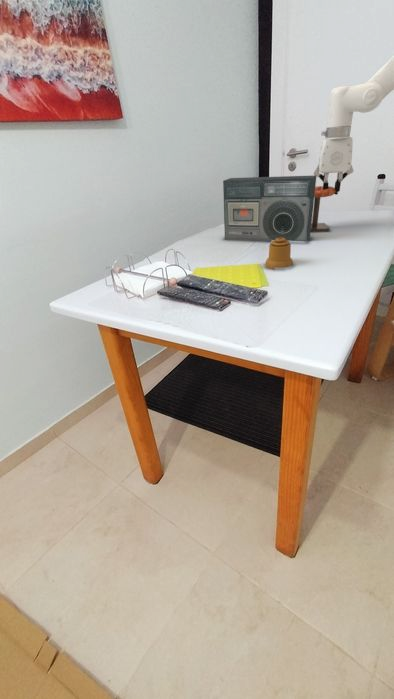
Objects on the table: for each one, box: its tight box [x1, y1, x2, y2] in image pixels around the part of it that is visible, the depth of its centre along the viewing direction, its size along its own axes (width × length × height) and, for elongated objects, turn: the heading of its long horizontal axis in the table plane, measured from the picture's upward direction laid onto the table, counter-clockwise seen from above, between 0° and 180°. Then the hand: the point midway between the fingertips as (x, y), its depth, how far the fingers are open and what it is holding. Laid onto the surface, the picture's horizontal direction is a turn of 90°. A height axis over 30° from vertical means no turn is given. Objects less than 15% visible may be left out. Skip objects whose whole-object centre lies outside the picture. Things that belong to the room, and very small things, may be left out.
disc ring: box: [314, 185, 336, 199], centre depth 120 cm, size 11×11×2 cm
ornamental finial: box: [265, 238, 294, 270], centre depth 94 cm, size 8×8×8 cm
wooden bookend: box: [311, 197, 330, 233], centre depth 124 cm, size 9×9×12 cm
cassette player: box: [222, 175, 317, 243], centre depth 115 cm, size 29×7×20 cm, turn 65°
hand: (330, 193), depth 120 cm, fingers closed on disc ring, 2 cm apart
